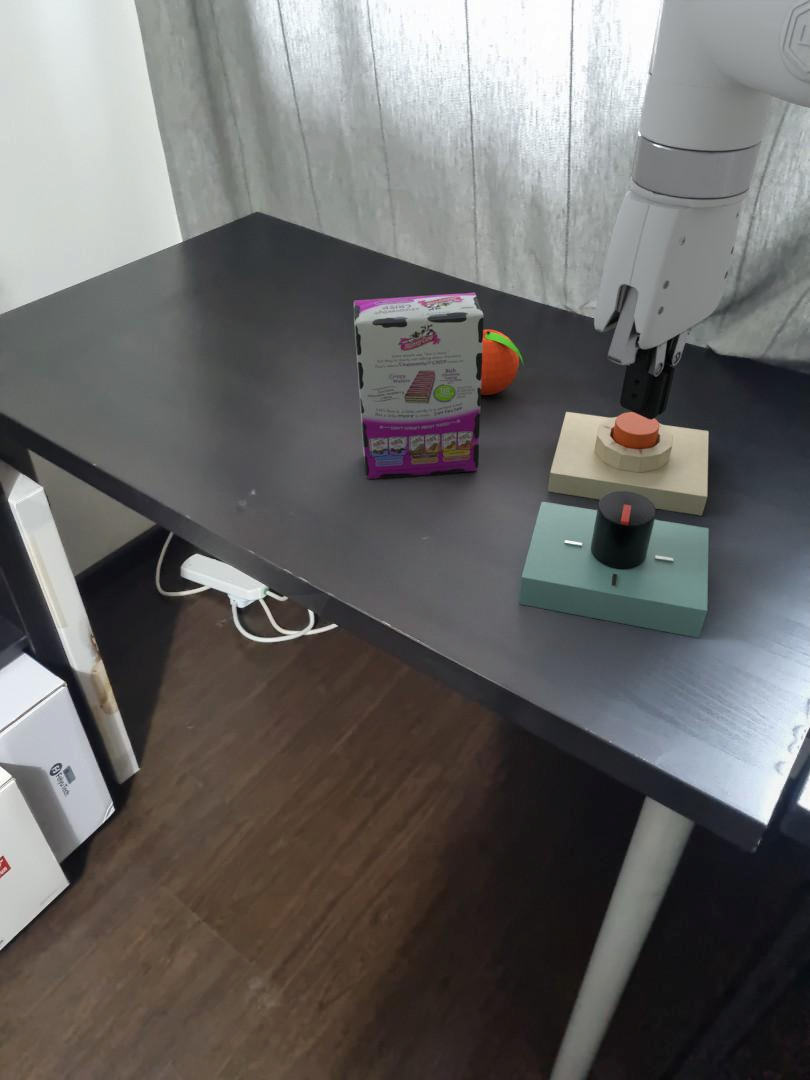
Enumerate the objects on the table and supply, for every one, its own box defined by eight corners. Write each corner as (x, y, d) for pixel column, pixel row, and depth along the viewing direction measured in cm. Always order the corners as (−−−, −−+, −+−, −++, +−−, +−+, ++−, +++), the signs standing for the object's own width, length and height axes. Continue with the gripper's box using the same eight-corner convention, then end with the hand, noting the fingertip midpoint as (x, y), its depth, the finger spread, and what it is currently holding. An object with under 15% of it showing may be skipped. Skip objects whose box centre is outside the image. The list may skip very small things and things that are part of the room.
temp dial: (594, 529, 69) (602, 483, 66) (648, 539, 68) (659, 492, 65) (587, 563, 66) (595, 516, 62) (643, 574, 65) (654, 527, 61)
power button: (657, 430, 79) (660, 414, 78) (654, 453, 76) (658, 437, 75) (614, 424, 80) (617, 409, 79) (610, 447, 77) (613, 431, 76)
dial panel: (701, 555, 71) (709, 526, 69) (698, 638, 63) (708, 609, 61) (538, 527, 74) (541, 499, 72) (518, 604, 67) (521, 575, 64)
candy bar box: (470, 444, 84) (477, 290, 73) (478, 473, 80) (487, 314, 70) (361, 451, 83) (352, 296, 73) (363, 480, 79) (354, 322, 69)
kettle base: (703, 449, 83) (712, 415, 80) (702, 516, 75) (712, 480, 72) (563, 429, 86) (568, 396, 83) (547, 491, 78) (552, 456, 75)
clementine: (536, 389, 92) (542, 330, 87) (504, 416, 88) (509, 356, 83) (475, 369, 96) (478, 311, 91) (442, 394, 91) (443, 335, 87)
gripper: (704, 131, 59) (655, 360, 71) (574, 178, 52) (544, 426, 64) (803, 153, 55) (734, 393, 67) (678, 208, 47) (625, 468, 59)
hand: (641, 409), depth 65 cm, fingers closed
